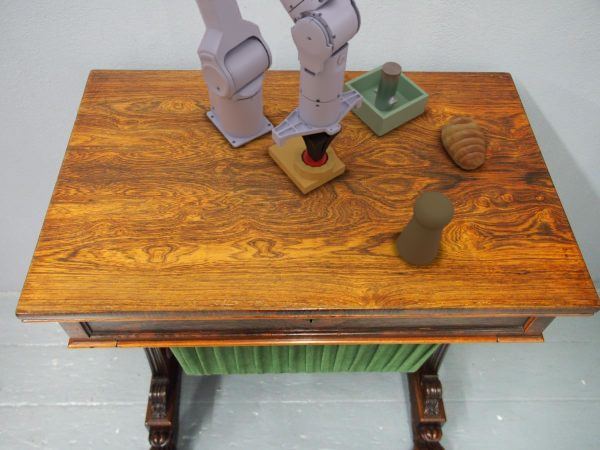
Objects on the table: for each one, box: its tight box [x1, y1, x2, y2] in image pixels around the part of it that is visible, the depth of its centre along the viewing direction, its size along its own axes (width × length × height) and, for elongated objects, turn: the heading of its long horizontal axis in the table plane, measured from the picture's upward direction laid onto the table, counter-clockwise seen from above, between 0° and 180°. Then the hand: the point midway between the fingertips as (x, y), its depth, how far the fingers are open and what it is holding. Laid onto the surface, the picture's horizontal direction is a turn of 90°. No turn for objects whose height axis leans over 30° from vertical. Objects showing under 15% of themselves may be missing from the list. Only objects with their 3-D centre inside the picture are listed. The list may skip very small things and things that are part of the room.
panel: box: [268, 136, 346, 195], centre depth 79 cm, size 10×8×4 cm
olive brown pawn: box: [395, 190, 455, 266], centre depth 68 cm, size 6×6×11 cm
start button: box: [303, 150, 326, 167], centre depth 77 cm, size 4×4×2 cm
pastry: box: [440, 116, 487, 170], centre depth 82 cm, size 9×7×4 cm
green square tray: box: [342, 64, 430, 137], centre depth 87 cm, size 10×10×4 cm
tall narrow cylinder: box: [374, 61, 403, 111], centre depth 84 cm, size 4×3×8 cm
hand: (314, 156), depth 77 cm, fingers closed, pressing on start button
